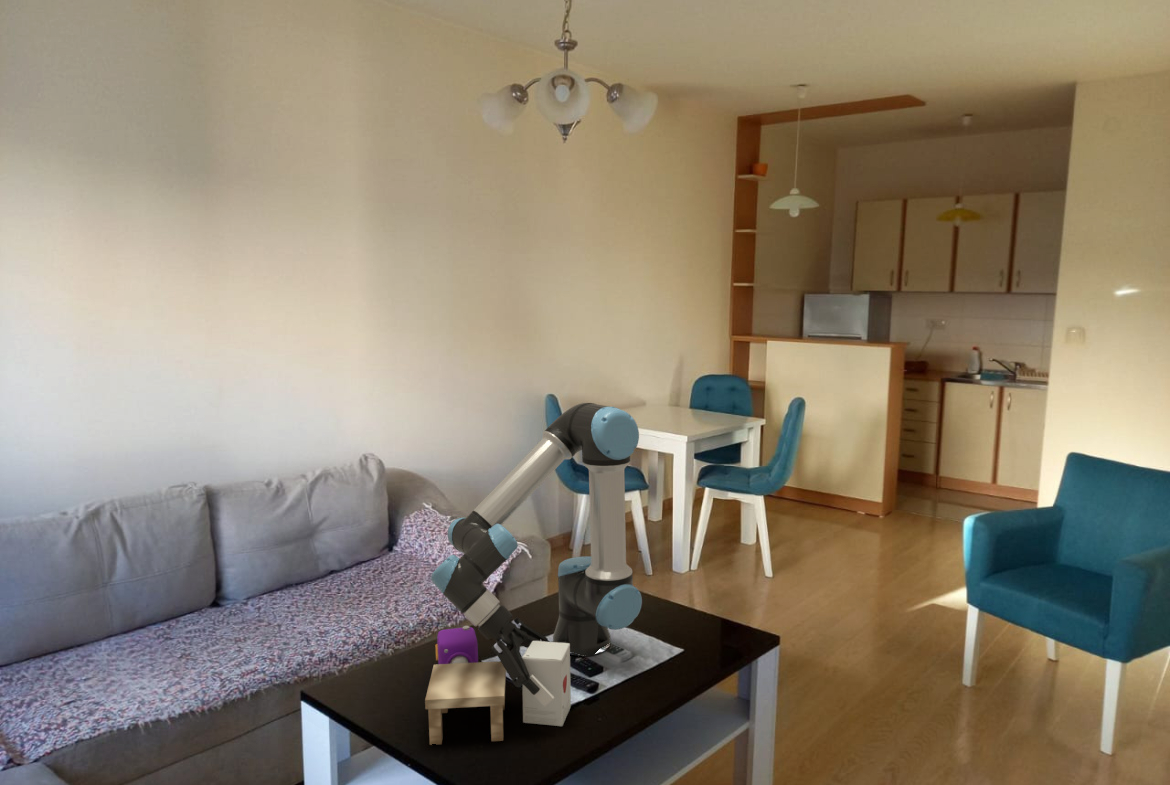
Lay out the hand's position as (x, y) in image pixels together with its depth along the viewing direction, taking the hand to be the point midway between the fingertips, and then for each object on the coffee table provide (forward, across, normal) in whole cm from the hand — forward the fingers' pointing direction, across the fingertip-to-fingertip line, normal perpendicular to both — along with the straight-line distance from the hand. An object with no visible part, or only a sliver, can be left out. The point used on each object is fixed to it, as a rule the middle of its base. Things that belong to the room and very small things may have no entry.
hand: (557, 686), depth 175 cm
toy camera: (-15, -15, -25) cm, 33 cm away
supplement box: (+3, 0, -6) cm, 7 cm away
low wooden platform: (-8, +7, -18) cm, 20 cm away
